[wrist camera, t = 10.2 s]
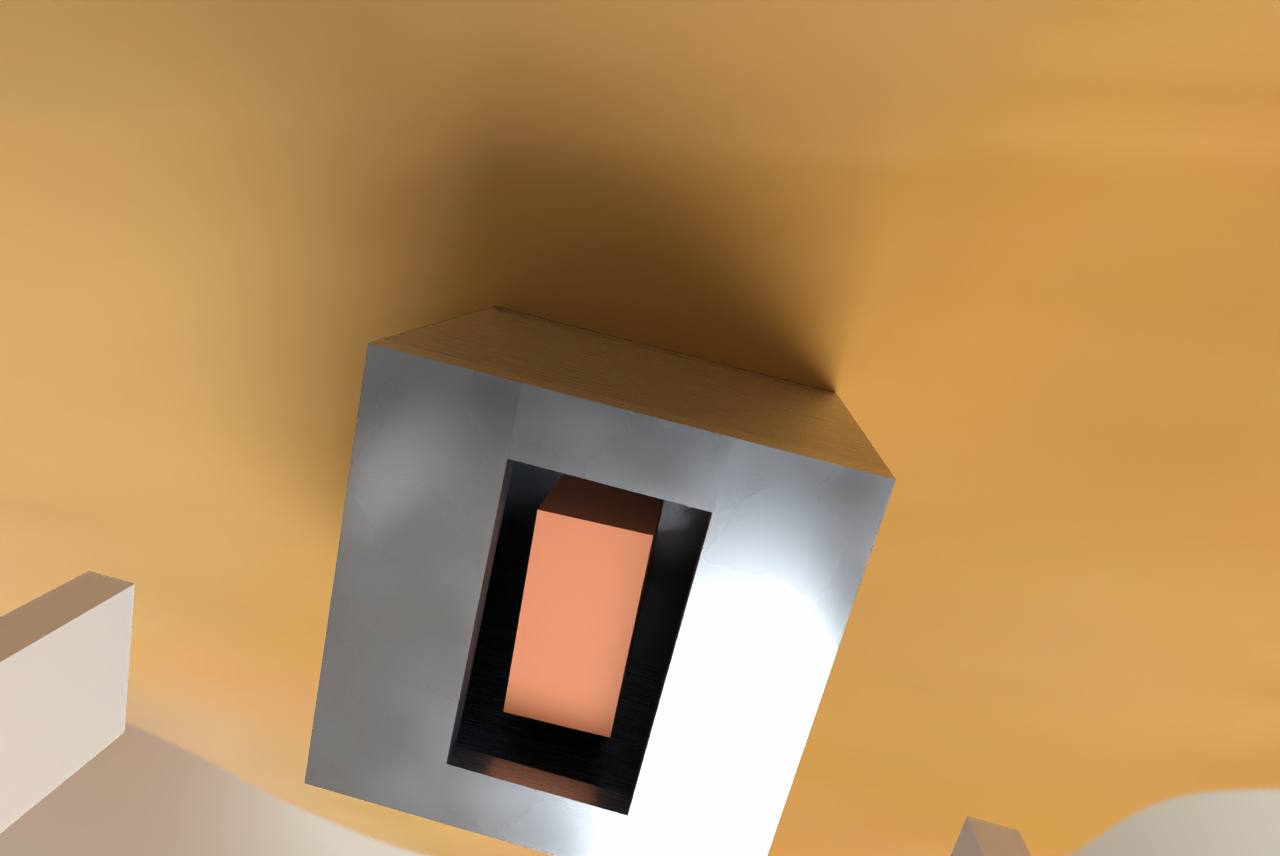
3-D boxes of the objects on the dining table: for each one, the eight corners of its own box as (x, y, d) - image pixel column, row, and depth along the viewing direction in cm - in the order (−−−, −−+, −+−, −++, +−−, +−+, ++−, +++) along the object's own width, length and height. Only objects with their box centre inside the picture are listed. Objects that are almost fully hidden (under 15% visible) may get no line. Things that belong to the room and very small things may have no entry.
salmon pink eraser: (559, 594, 23) (503, 711, 18) (587, 438, 22) (537, 509, 16) (639, 613, 23) (609, 737, 17) (673, 457, 22) (653, 535, 16)
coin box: (437, 612, 25) (304, 783, 17) (494, 306, 22) (368, 343, 14) (741, 696, 24) (747, 911, 16) (836, 393, 22) (895, 479, 14)
